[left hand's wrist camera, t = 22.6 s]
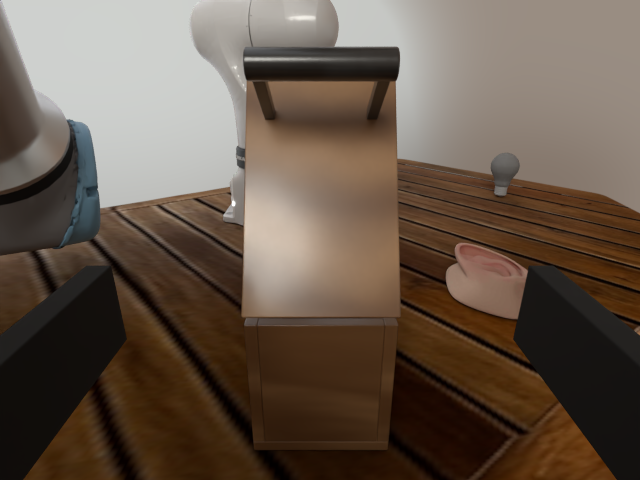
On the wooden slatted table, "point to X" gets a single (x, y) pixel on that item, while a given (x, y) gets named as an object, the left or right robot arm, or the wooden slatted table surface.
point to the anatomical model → (486, 281)
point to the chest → (321, 382)
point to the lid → (321, 183)
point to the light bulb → (504, 171)
